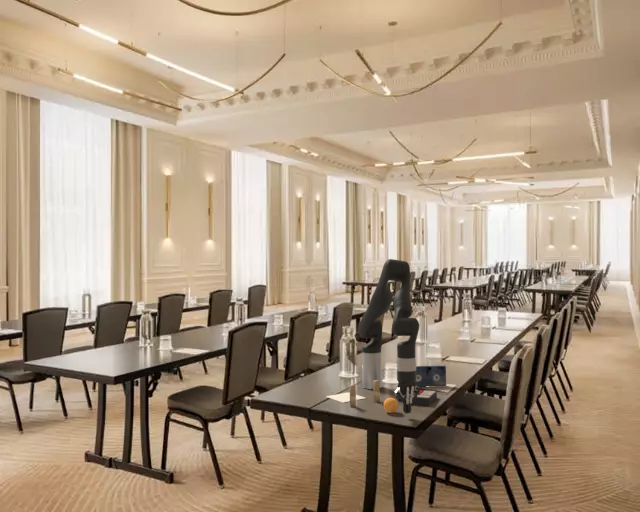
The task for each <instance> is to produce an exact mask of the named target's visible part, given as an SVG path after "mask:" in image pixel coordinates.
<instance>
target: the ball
mask: <svg viewBox="0 0 640 512" xmlns="http://www.w3.org/2000/svg"><path fill="white" fill-rule="evenodd" d="M383 408H384V410H385V412H387V413H389V414H394V413H396V412H397V411H398V410H399V401H398V399H397V398H396V399H395V398H393V397H388V398H386V399H385V400H384V402H383Z"/></svg>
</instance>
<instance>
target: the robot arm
mask: <svg viewBox="0 0 640 512" xmlns="http://www.w3.org/2000/svg"><path fill="white" fill-rule="evenodd" d="M381 270H382V271H381V273H380V276H379V279H378V282H377V285H376V287H375V290H374V291H373V293H372V295H371V298H370V301H369V304H368V306H367V308H366V310H365V312H364V314H363V316H362V317H361V319H360V320H359V323H358V326H357V327H358V328H357V331H358V335H359V337H360V338H362V339H371V340H370V341H369V342H368V343H365V344H364V345H362V347H361V354H362V355H361V358H362V360H361V361H362V365H361V367H360V368H361V371H360V373H361V387H362V388H363V389H365V390H366V389H367V390H374V385H373V381H375V380H378V381H379V387H380V389H382V388H383V386H382V385H383V383H382V382H383V381H382V379H383V378H382V376H383V374H382V348H383V347H382V346H383V324H382V321H381V320H380V318H381V317H383V315H384V314H386V313H387V312H388V311H389V310H390V307H391V304H392V302H393V309H394V310H393V311H394V315H393V316H394V317H393V321H392V325H391V330H392V334H394V335H395V336H397V337H409V338H408V339H406V340H404V341H400V342H398V343H397V345H396V352H397V355H396V357H397V358H396V380H397V382H398V383H397V387H396V390H393V391H392V393H393V395H394V396H395V398H396V400H397V402H398V403H402V404H403V405H402V406H403V412H404V414H406V415H407V414H412V413H411V412H412V405H411V403H412V402H413V401H415V400H416V398H417V396H418V394H419V392H420V390H421V387H417V386H416V383H415V381H416V366H417V361H416V343H417V338H418V334H419V331H420V322H419V320H418V319H417V318H415V317H411V316H412V314H413V309H412V302H411V268H410V263H409V262H408V261H404V260H401V259H400V260H399V259H393V258H389V259H386V261H385V262H384V264H383V267H382V269H381ZM390 281H391V282H392V281H393V282H399V283H401V286H400V287H399V289H398V290H397V291H396V293H395V294H394V297H393V293H392V290H391V289H390V287H389V283H388V282H390ZM413 396H414V397H413Z"/></svg>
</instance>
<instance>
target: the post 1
mask: <svg viewBox="0 0 640 512" xmlns="http://www.w3.org/2000/svg"><path fill="white" fill-rule="evenodd" d="M356 386H357V385H356V384H349V393H350V401H349V408H356V407H357V400H356V395H357V390H356V389H357V387H356Z"/></svg>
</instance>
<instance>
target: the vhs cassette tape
mask: <svg viewBox="0 0 640 512" xmlns="http://www.w3.org/2000/svg"><path fill="white" fill-rule="evenodd" d="M415 383H416V386H417V387H419V388H427V387H426V386H446V387H447V367H446V365H420V366H417V365H416V381H415Z"/></svg>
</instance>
